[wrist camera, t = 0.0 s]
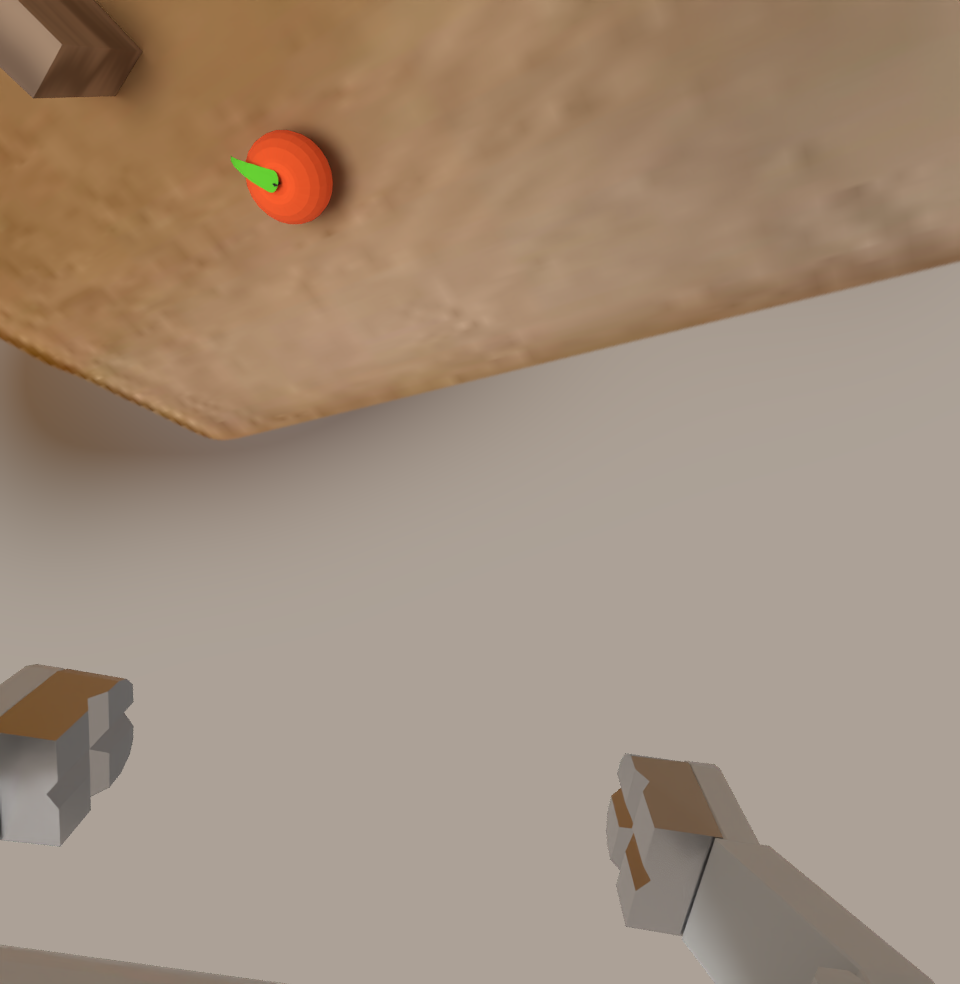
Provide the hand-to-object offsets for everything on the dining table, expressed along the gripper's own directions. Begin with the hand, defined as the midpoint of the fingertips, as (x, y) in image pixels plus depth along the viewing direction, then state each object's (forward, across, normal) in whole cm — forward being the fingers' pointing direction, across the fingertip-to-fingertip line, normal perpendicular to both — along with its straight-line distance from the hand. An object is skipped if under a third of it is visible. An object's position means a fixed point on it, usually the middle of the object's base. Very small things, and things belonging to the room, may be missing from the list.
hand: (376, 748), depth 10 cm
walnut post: (+47, +34, -23) cm, 62 cm away
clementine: (+49, +18, -17) cm, 55 cm away
